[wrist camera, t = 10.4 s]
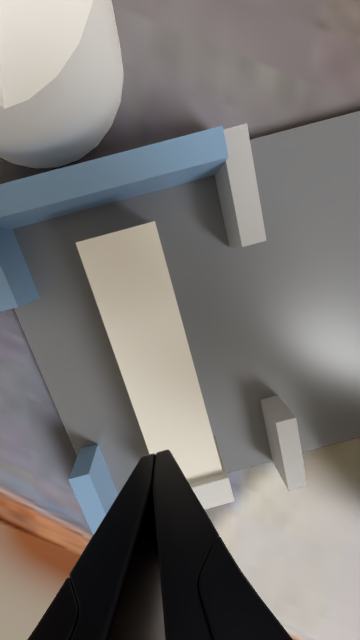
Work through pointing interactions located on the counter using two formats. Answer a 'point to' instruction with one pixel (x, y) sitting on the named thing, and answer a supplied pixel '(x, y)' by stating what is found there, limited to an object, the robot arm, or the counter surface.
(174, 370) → the long cream plank
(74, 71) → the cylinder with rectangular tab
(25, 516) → the counter surface
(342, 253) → the board
